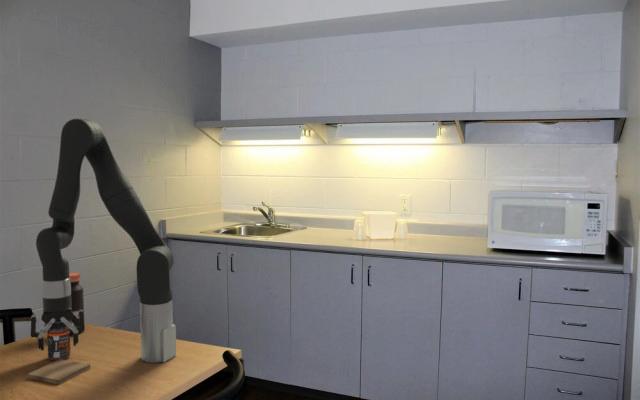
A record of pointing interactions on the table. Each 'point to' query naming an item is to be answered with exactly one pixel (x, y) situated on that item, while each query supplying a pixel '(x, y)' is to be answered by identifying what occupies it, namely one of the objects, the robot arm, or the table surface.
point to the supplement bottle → (58, 341)
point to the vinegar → (76, 298)
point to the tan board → (59, 371)
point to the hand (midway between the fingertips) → (58, 347)
